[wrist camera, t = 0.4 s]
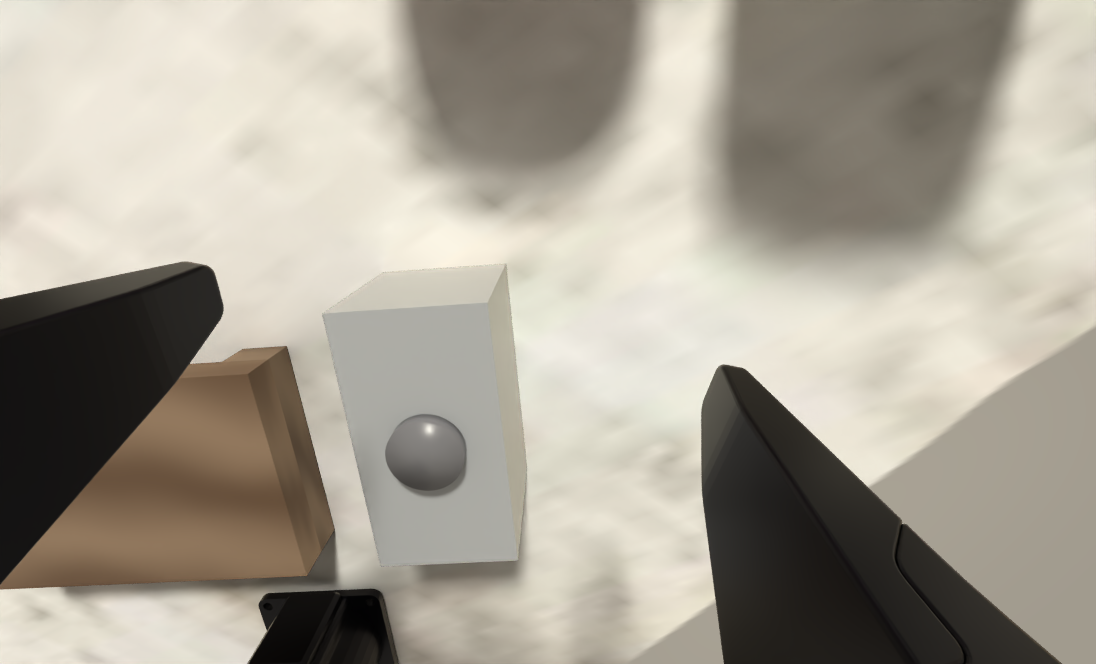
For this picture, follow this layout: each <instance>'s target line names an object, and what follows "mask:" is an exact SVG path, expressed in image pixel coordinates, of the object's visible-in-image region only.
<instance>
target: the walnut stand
mask: <svg viewBox="0 0 1096 664" xmlns="http://www.w3.org/2000/svg"><path fill="white" fill-rule="evenodd" d="M333 531H334V526H333V522H332V518H331V514H330V510H329V507H328V503H327V499H326V495H325V491H324V487H323V484H322V480H321V476H320V472H319V468H318V465H317V461H316V457H315V453H314V449H313V445H312V442H311V438H310V434H309V430H308V426H307V422H306V419H305V415H304V411H303V407H302V403H301V399H300V396H299V392H298V388H297V384H296V380H295V376H294V373H293V369H292V365H291V361H290V357H289V353H288V350H287V346H283V347H267V348H252V349H242V350H240V351H239V352H237V353H236V354H234V355H232V356H231V357H229V358H228V359H226V360H224V361H223V362H216V363H200V364H189V365H188V366H187V368H186V369H185V371H184V372H183V374H182V375H181V376H180V378H179V379H178V380H177V382H176V383H175V384H174V386H173V387H172V388H171V389H170V390H169V392H168V393H167V394H166V395H165V396H164V398H163V399H162V400H161V401H160V402H159V403H158V404H157V406H156V407H155V408H154V409H153V410H152V411H151V412H150V414H149V415H148V416H147V417H146V418H145V419H144V420H143V422H142V423H141V424H140V425H139V426H138V427H137V429H136V430H135V431H134V432H133V433H132V434H131V435H130V437H129V438H128V439H127V440H126V441H125V442H124V443H123V445H122V446H121V447H120V448H119V449H118V450H117V452H116V453H115V454H114V455H113V456H112V457H111V458H110V460H109V461H108V462H107V463H106V464H105V465H104V466H103V468H102V469H101V470H100V471H99V472H98V473H97V474H96V476H95V477H94V478H93V479H92V480H91V481H90V483H89V484H88V485H87V486H86V487H85V488H84V489H83V491H82V492H81V493H80V494H79V495H78V496H77V497H76V499H75V500H74V501H73V502H72V503H71V504H70V505H69V507H68V508H67V509H66V510H65V511H64V512H63V514H62V515H61V516H60V517H59V518H58V519H57V520H56V522H55V523H54V524H53V525H52V526H51V527H50V528H49V530H48V531H47V532H46V533H45V534H44V535H43V536H42V538H41V539H40V540H39V541H38V542H37V543H36V545H35V546H34V547H33V548H32V549H31V550H30V551H29V553H28V554H27V555H26V556H25V557H24V558H23V559H22V561H21V562H20V563H19V564H18V565H17V566H16V567H15V569H14V570H13V571H12V572H11V573H10V574H9V576H8V577H7V578H6V579H5V580H4V581H3V582H2V584H1V585H0V589H20V588H43V587H66V586H89V585H111V584H134V583H157V582H179V581H202V580H225V579H247V578H270V577H293V576H307V575H308V573H309V572H310V570H311V568H312V567H313V565H314V563H315V562H316V560H317V558H318V556H319V555H320V553H321V551H322V550H323V548H324V546H325V545H326V543H327V541H328V540H329V538H330V536H331V535H332V533H333Z"/></svg>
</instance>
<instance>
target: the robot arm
mask: <svg viewBox="0 0 1096 664" xmlns="http://www.w3.org/2000/svg"><path fill="white" fill-rule="evenodd" d="M222 315H223V302H222V298H221V294H220V291H219V287H218V283H217V279H216V276H215V273H214V271H213V270H212V269H211V268H210V267H209V266H207V265H202V264H197V263H192V262H179V263H174V264H169V265H164V266H159V267H154V268H150V269H145V270H140V271H135V272H130V273H125V274H120V275H115V276H111V277H106V278H101V279H96V280H91V281H86V282H81V283H77V284H72V285H67V286H62V287H57V288H52V289H47V290H42V291H38V292H33V293H28V294H23V295H18V296H13V297H8V298H4V299H0V585H1V584H2V582H3V581H4V580H5V579H6V578H7V577H8V576H9V574H10V573H11V572H12V571H13V570H14V569H15V567H16V566H17V565H18V564H19V563H20V562H21V561H22V559H23V558H24V557H25V556H26V555H27V554H28V553H29V551H30V550H31V549H32V548H33V547H34V546H35V545H36V543H37V542H38V541H39V540H40V539H41V538H42V536H43V535H44V534H45V533H46V532H47V531H48V530H49V528H50V527H51V526H52V525H53V524H54V523H55V522H56V520H57V519H58V518H59V517H60V516H61V515H62V514H63V512H64V511H65V510H66V509H67V508H68V507H69V505H70V504H71V503H72V502H73V501H74V500H75V499H76V497H77V496H78V495H79V494H80V493H81V492H82V491H83V489H84V488H85V487H86V486H87V485H88V484H89V483H90V481H91V480H92V479H93V478H94V477H95V476H96V474H97V473H98V472H99V471H100V470H101V469H102V468H103V466H104V465H105V464H106V463H107V462H108V461H109V460H110V458H111V457H112V456H113V455H114V454H115V453H116V452H117V450H118V449H119V448H120V447H121V446H122V445H123V443H124V442H125V441H126V440H127V439H128V438H129V437H130V435H131V434H132V433H133V432H134V431H135V430H136V429H137V427H138V426H139V425H140V424H141V423H142V422H143V420H144V419H145V418H146V417H147V416H148V415H149V414H150V412H151V411H152V410H153V409H154V408H155V407H156V406H157V404H158V403H159V402H160V401H161V400H162V399H163V398H164V396H165V395H166V394H167V393H168V392H169V390H170V389H171V388H172V387H173V386H174V384H175V383H176V382H177V380H178V379H179V378H180V376H181V375H182V374H183V372H184V371H185V369H186V368H187V366H188V365H189V364H190V362H191V361H192V359H193V358H194V357H195V355H196V354H197V352H198V351H199V349H200V348H201V347H202V345H203V344H204V342H205V341H206V339H207V338H208V337H209V335H210V334H211V332H212V331H213V329H214V328H215V327H216V325H217V324H218V322H219V321H220V319H221V317H222ZM701 468H702V496H703V506H704V513H705V521H706V529H707V537H708V544H709V552H710V560H711V567H712V575H713V583H714V591H715V598H716V606H717V614H718V621H719V629H720V636H721V645H722V652H723V660H724V664H1062V663H1061V662H1059V661H1058V660H1057V659H1056V658H1055V657H1054V656H1052V655H1051V654H1050V653H1049V652H1048V651H1046V650H1045V649H1044V648H1043V647H1042V646H1041V645H1040V644H1038V643H1037V642H1036V641H1035V640H1034V639H1033V638H1031V637H1030V636H1029V635H1028V634H1027V633H1026V632H1024V631H1023V630H1022V629H1021V628H1020V627H1019V626H1017V625H1016V624H1015V623H1014V622H1013V621H1012V620H1011V619H1009V618H1008V617H1007V616H1006V615H1005V614H1004V613H1003V612H1001V611H1000V610H999V609H998V608H997V607H996V606H994V605H993V604H992V603H991V602H990V601H989V600H988V599H987V598H985V597H984V596H983V595H982V594H981V593H980V592H979V591H977V590H976V589H975V588H974V587H973V586H972V585H971V584H969V583H968V582H967V581H966V580H965V579H964V578H963V577H962V576H961V575H960V574H959V573H957V572H956V571H955V570H954V569H953V568H952V567H951V566H950V565H949V564H948V563H947V562H946V561H945V560H944V559H942V558H941V557H940V556H939V555H938V554H937V553H936V552H935V551H934V550H933V549H932V548H931V547H930V546H929V545H927V543H926V542H924V541H923V540H922V539H921V538H920V537H919V536H918V535H917V534H916V533H915V532H914V531H913V530H912V529H911V528H910V527H909V526H908V525H907V524H902V520H901V519H900V518H899V517H898V516H897V515H896V514H895V513H894V512H893V511H892V510H891V509H890V508H889V507H888V506H887V505H886V504H885V503H884V502H883V501H882V500H881V499H879V497H878V496H877V495H876V494H875V493H873V492H872V491H871V490H870V489H869V488H868V487H867V486H866V485H865V484H864V483H863V482H862V481H861V480H860V479H859V478H858V477H857V476H856V475H855V474H854V473H853V472H852V471H851V470H850V469H849V468H848V467H847V466H845V465H844V464H843V463H842V462H841V461H840V460H839V459H838V458H837V457H836V456H835V455H834V454H833V453H832V452H831V451H830V450H829V449H828V448H827V447H826V446H825V445H824V444H823V443H822V442H821V441H820V440H818V439H817V438H816V437H815V436H814V435H813V434H812V433H811V432H810V431H809V430H808V429H807V428H806V427H805V426H804V425H803V424H802V423H801V422H800V421H799V420H798V419H797V418H796V417H795V416H794V415H793V414H792V413H790V412H789V411H788V410H787V409H786V408H785V407H784V406H783V405H782V404H781V403H780V402H779V401H778V400H777V399H776V398H775V397H774V396H773V395H772V394H771V393H770V392H769V391H768V390H767V389H766V388H765V387H763V386H762V385H761V384H760V383H759V382H758V381H757V380H756V379H755V378H754V377H753V376H752V375H751V374H750V373H749V372H748V371H747V370H746V369H744V368H740V367H735V366H730V365H720V366H719V367H718V368H717V370H716V372H715V374H714V376H713V379H712V381H711V383H710V386H709V388H708V391H707V393H706V395H705V398H704V400H703V404H702V411H701ZM371 599H373V600H371ZM259 609H260V612H261V615H262V618H263V620H264V623H265V626H266V629H267V632H266V634H265V635H264V637H263V639H262V640H261V642H260V644H259V645H258V647H257V648H256V650H255V652H254V653H253V655H252V657H251V658H250V660H249V662H248V663H247V664H398V661H397V656H396V652H395V648H394V644H393V639H392V635H391V631H390V627H389V622H388V618H387V614H386V610H385V605H384V601H383V597H382V594H381V593H380V592H379V591H378V590H375V589H357V590H333V591H310V592H286V593H268V594H266V595H264V596H263V598H262V599H261V601H260V603H259Z"/></svg>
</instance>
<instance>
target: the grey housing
mask: <svg viewBox="0 0 1096 664" xmlns="http://www.w3.org/2000/svg"><path fill="white" fill-rule="evenodd" d="M322 315H323V319H324V324H325V328H326V332H327V337H328V341H329V345H330V350H331V354H332V358H333V363H334V367H335V371H336V376H337V380H338V384H339V389H340V393H341V397H342V402H343V406H344V410H345V414H346V419H347V423H348V427H349V432H350V436H351V440H352V445H353V449H354V453H355V458H356V462H357V466H358V471H359V475H360V479H361V484H362V488H363V492H364V497H365V501H366V505H367V509H368V514H369V518H370V522H371V527H372V531H373V535H374V540H375V544H376V548H377V553H378V557H379V561H380V566H381V567H384V566H406V565H428V564H451V563H473V562H495V561H518V556H519V545H520V535H521V525H522V515H523V505H524V495H525V485H526V475H527V462H526V452H525V442H524V433H523V423H522V413H521V404H520V394H519V384H518V375H517V365H516V355H515V345H514V336H513V326H512V316H511V307H510V297H509V287H508V278H507V268H506V264H493V265H479V266H465V267H450V268H436V269H422V270H408V271H393V272H383V273H381V274H380V275H378V276H377V277H376V278H374V279H373V280H371V281H370V282H368V283H367V284H365V285H364V286H362V287H361V288H359V289H358V290H356V291H355V292H353V293H352V294H350V295H349V296H347V297H346V298H344V299H343V300H341V301H340V302H339V303H337V304H336V305H334V306H333V307H331V308H330V309H328V310H327V311H325V312H324V313H322Z"/></svg>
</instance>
